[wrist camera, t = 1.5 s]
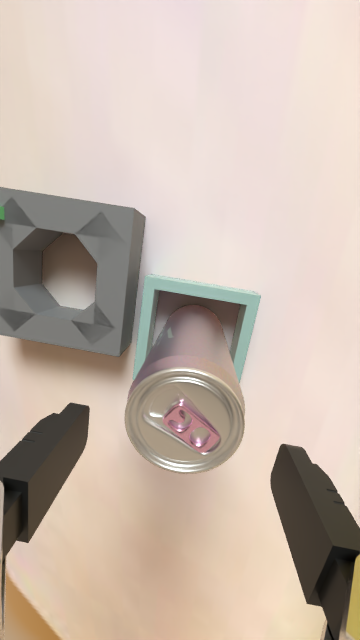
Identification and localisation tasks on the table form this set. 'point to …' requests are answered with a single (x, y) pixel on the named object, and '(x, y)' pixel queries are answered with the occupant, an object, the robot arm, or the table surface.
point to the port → (103, 245)
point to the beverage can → (187, 396)
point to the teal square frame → (156, 283)
